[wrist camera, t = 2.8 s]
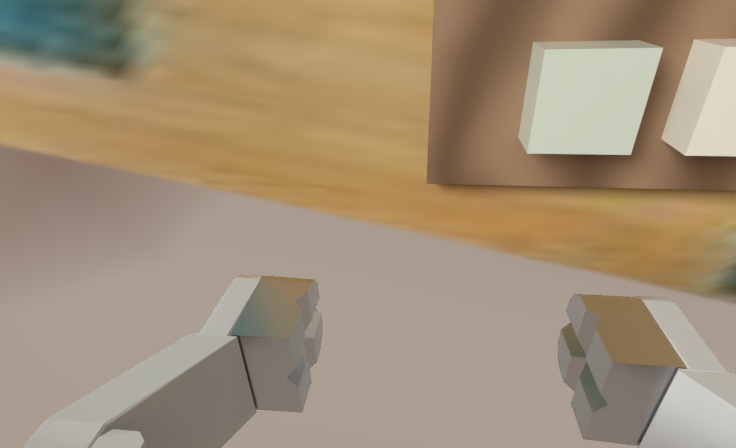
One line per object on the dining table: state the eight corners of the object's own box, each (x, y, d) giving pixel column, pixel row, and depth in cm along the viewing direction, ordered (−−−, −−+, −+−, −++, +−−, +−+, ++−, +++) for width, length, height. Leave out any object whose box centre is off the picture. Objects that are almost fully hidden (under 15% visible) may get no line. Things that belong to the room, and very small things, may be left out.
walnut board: (878, -40, 19) (910, -41, 18) (769, 180, 25) (787, 191, 23) (435, -24, 22) (436, -24, 20) (427, 173, 27) (427, 183, 26)
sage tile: (639, 40, 21) (663, 47, 18) (612, 138, 23) (630, 154, 21) (533, 42, 21) (544, 49, 19) (518, 137, 24) (527, 153, 22)
